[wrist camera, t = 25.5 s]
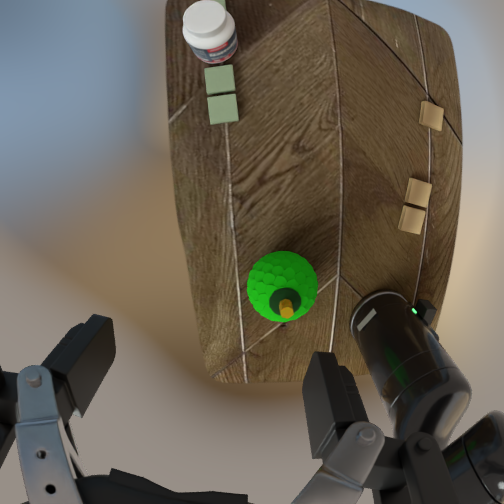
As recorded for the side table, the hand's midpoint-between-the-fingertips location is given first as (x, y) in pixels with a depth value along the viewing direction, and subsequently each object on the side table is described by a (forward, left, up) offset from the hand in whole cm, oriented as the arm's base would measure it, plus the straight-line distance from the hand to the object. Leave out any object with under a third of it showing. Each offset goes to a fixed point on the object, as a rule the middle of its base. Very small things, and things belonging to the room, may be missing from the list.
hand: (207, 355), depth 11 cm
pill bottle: (+6, -20, -26) cm, 34 cm away
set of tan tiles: (-22, -10, -26) cm, 36 cm away
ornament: (-6, +7, -26) cm, 28 cm away
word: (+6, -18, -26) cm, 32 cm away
